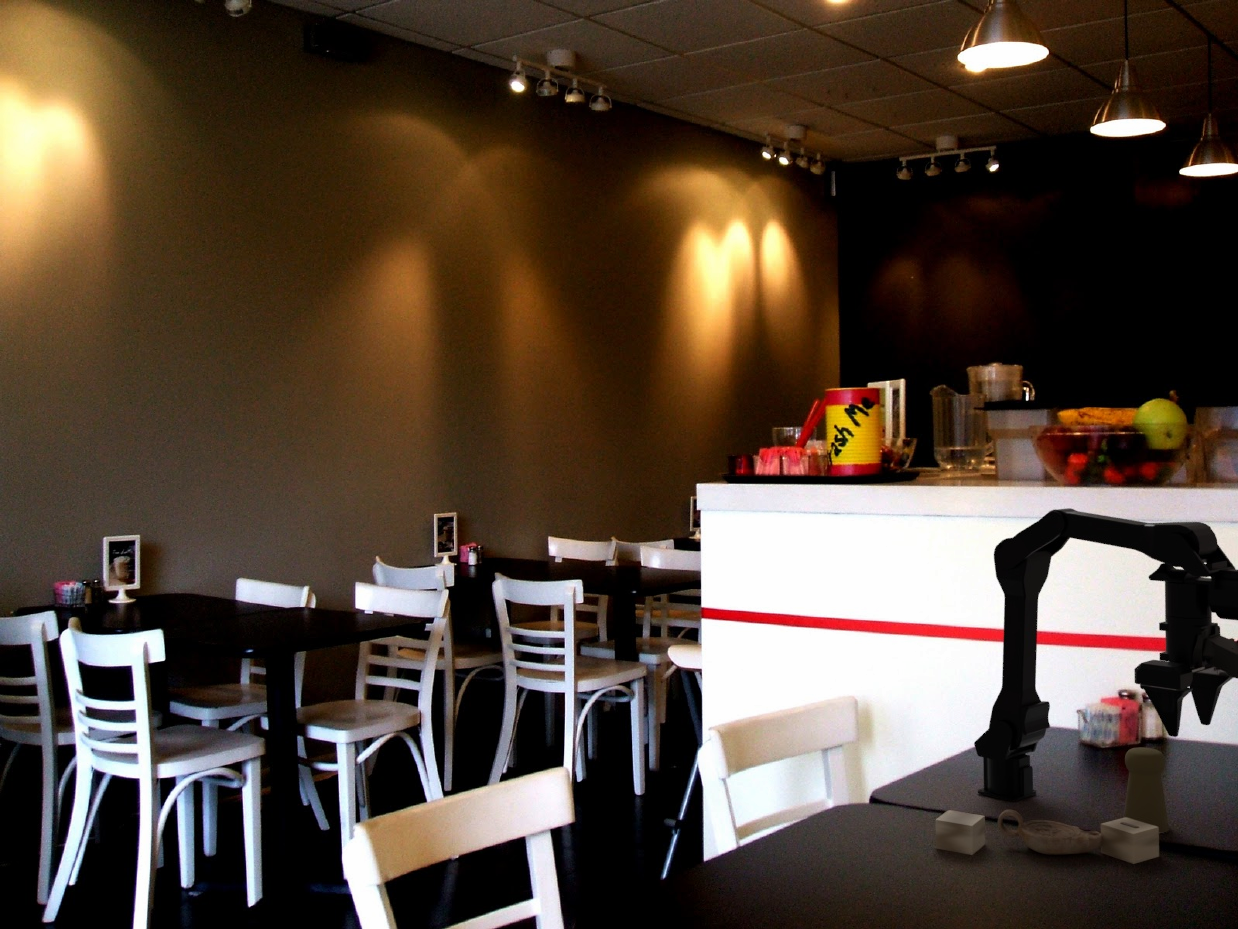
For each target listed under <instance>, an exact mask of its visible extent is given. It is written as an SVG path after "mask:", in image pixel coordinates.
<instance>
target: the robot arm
mask: <svg viewBox="0 0 1238 929" xmlns="http://www.w3.org/2000/svg"><path fill="white" fill-rule="evenodd" d="M1070 539H1075V540H1080V541H1084V542H1085V541H1087V542H1092V543H1096V544H1101V545H1108V546H1112V547H1113V546H1114V547H1118V548H1123V549H1130V550H1135V551H1137V552H1140V553H1141V554H1142V553H1143V554H1144V555H1145V556H1147V557H1149V558H1150V559H1152V560H1154V561H1157V562H1160V565H1159V567H1158V568H1157V569H1156V570H1155V571H1153V572H1152V573H1151V574H1149V575H1148V580H1150V581H1156V582H1164V599H1165V600H1164V603H1165V604H1164V613H1165V615H1164V616H1165V617H1164V620H1165V621H1162V622H1158V629H1159V630H1158V631H1162V632H1165V651H1161V652H1159V660H1158V659H1150V660H1147V661H1144V662H1141V663H1139V664H1138V665H1137V666H1136V667H1135V668H1134V684H1136V685H1139V688H1140V689H1141V690H1143V691H1144V692H1145V693H1146V695H1147V697H1148V699H1149V700H1150V703H1151V704H1152V705H1153V707H1154V710H1155V711H1156V713H1157V716H1158V717H1159V719H1160V721H1161V723H1162V725H1163V726H1164V729H1165V731H1166V733H1167V735H1168V736H1169V737H1173V738H1177V737H1178V736H1179V733H1180V726H1181V718H1182V710H1183V709H1182V708H1183V700H1184V698H1185V697H1186V696H1187V695H1189V694H1190V693H1191V697H1192V699H1193V700H1192V701H1193V703H1194V706H1195V709H1196V713H1197V716H1198V720H1199V722H1200V724H1201V725H1203V726H1210V725H1211V722H1212V719H1213V716H1214V713H1215V710H1216V706H1217V702H1218V699H1219V698H1220V693H1221V692H1222V691H1221V690H1222V689H1223V686H1224V685H1226V684H1227V683H1228V682H1230V681H1231V680H1232V679H1238V639H1237V640H1236V639H1235V638H1233V637H1232V638H1227V637H1226V636H1223V635H1221V626H1220V625H1219V623H1218V622H1212V621H1213V617H1212V616H1213V614H1214V613H1215V614H1216V616H1217V617H1218V618H1219V619H1222V620H1229V621H1238V569H1236V566H1234V564H1233V563H1232V561H1231V560H1230V559H1229V557H1228V556H1227V555H1226V554H1225V553H1226V552H1224V551H1223V550H1222V548H1221V547H1220V545H1219V544H1218V539H1217V535H1216V534H1215V532H1214V531H1213V529H1212V528H1211V526H1209V525H1208V523H1207V524H1206V523H1204V522H1201V521H1171V522H1170V521H1168V522H1145V521H1139V520H1132V519H1127V518H1122V517H1114V516H1110V515H1102V514H1096V513H1091V512H1084V511H1078V510H1076V509H1074V508H1072V507H1071V508H1070V507H1069V508H1068V507H1067V508H1065V507H1064V508H1057V509H1055V508H1054V509H1051V510H1049V511H1048V512H1047V513H1046V514H1044V516H1042V517H1040V519H1038V520H1037V521H1036V522H1034V523H1032V524H1031V525H1029V526H1027V527H1026V528H1024V529H1023V530H1021V531H1019V532H1018V533H1017V534H1015V535H1014V536H1013V537H1007V538H1005V539H1002V540H1001V541H1000V542H998V544H996V546H995V548H994V552H993V562H994V569H995V570H994V571H995V577H996V580H997V582H998V584H999V586H1000V588H1001V591H1002V592H1003V596H1004V604H1003V606H1004V607H1003V608H1004V609H1003V637H1002V638H1003V640H1002V641H1003V642H1002V643H1003V644H1002V677H1001V678H1002V682H1001V683H1002V685H1001V688H1000V692H999V693H998V695H997V698H996V699H995V701H994V703H993V705H992V708H991V714H990V720H989V724H988V729H987V730H986V731H985V732H983V733H982V734H981V735H980V736H979V737H978V738H977V739H976V740H975V741H974V743H973V745H974V748H975V751H976V754H977V757H980V758H982V759H983V760H982V762H983V764H982V766H983V768H982V770H983V771H982V773H983V774H982V775H983V787H982V788H979V789H977V794H979V795H984V796H988V797H993V798H996V799H999V800H1005V801H1009V802H1017V801H1020V800H1022V799H1025V798H1029V797H1031V796H1033V795H1036V794H1037V790H1036V789H1034V776H1033V775H1034V770H1033V769H1034V768H1033V766H1031V755H1029V754H1028V753H1033V752H1036V749H1037V746H1038V743H1039V742H1040V741H1041V740H1042V739H1043V738H1044V737H1045V735H1046V732H1047V729H1050V728H1051V724H1050V721H1049V720H1050V719H1049V713H1050V709H1051V708H1050V707H1051V705H1050V702H1049V701H1048V700H1047V701H1046V700H1045V701H1044V700H1041V698H1040V696H1039V694H1038V692H1037V689H1036V683H1037V679H1036V678H1037V677H1036V676H1037V651H1038V650H1037V648H1038V647H1037V646H1038V619H1039V618H1038V616H1039V614H1038V613H1039V612H1038V611H1039V610H1038V609H1039V595H1040V593H1041V591H1042V589H1043V587H1044V585H1045V583H1046V581H1047V579H1048V577H1049V573H1050V572H1049V571H1050V566H1051V562H1052V557H1053V556H1055V554H1058V552H1060V551H1061V550H1062V549H1063V548H1064V547H1065V545H1066V544H1067V543H1068V541H1069V540H1070ZM1179 568H1180V569H1179ZM1209 577H1210V578H1209Z"/></svg>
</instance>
